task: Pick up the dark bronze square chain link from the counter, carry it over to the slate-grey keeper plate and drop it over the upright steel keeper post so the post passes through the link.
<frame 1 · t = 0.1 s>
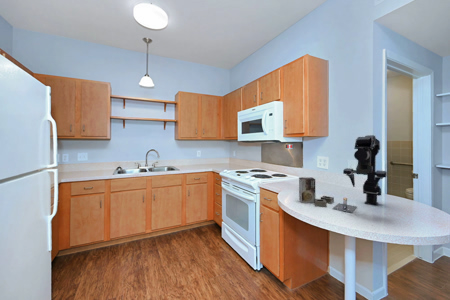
hand: (363, 188, 105), 15 cm above the table, fingers open, 9 cm apart
keeper: (345, 208, 116), on the table
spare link: (320, 205, 122), on the table
link: (327, 201, 129), on the table
coffee box: (306, 201, 130), on the table
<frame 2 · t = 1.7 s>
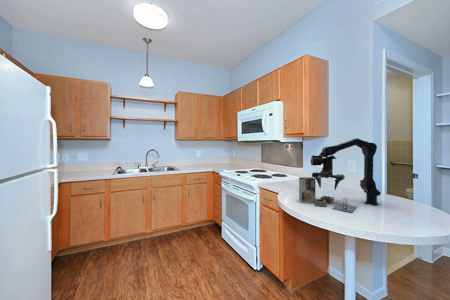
hand: (327, 188, 129), 9 cm above the table, fingers open, 9 cm apart
nothing on the table moved.
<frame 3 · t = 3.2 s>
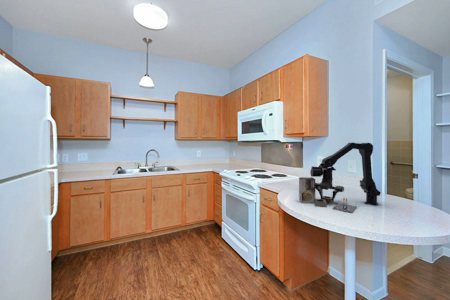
hand: (327, 199, 129), 1 cm above the table, fingers closed on link, 6 cm apart
link: (327, 201, 129), on the table, touching gripper
everything else where it was.
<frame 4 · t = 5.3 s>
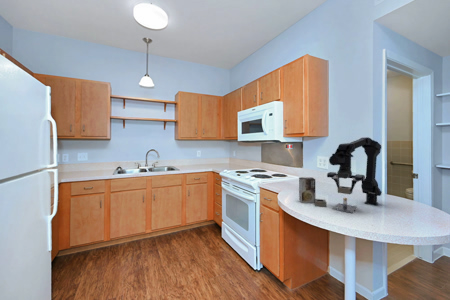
hand: (345, 190, 116), 11 cm above the table, fingers closed on link, 6 cm apart
link: (345, 192, 116), point 10 cm above the table, touching gripper
everything else where it was.
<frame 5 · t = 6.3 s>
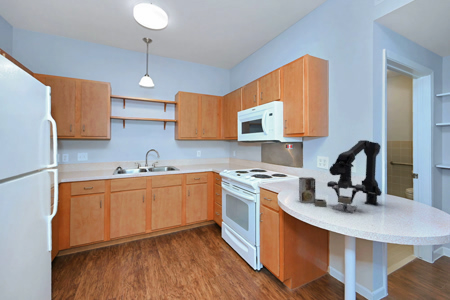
hand: (345, 200, 116), 5 cm above the table, fingers closed on link, 6 cm apart
link: (345, 202, 116), point 4 cm above the table, touching gripper
everything else where it was.
when the fingers open (4 cm above the table, at t = 7.3 s): link drops 3 cm, resting on keeper.
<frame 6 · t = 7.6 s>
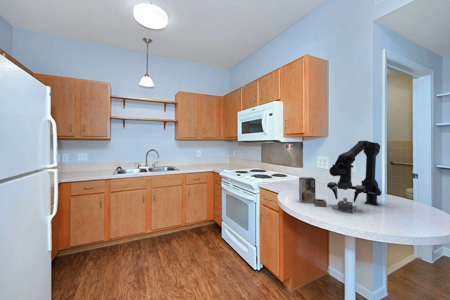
hand: (345, 200, 116), 4 cm above the table, fingers open, 9 cm apart
link: (345, 207, 116), point 1 cm above the table, touching keeper
everything else where it was.
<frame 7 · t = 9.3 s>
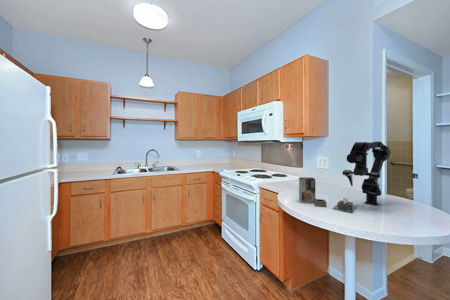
hand: (360, 187, 119), 12 cm above the table, fingers open, 9 cm apart
nothing on the table moved.
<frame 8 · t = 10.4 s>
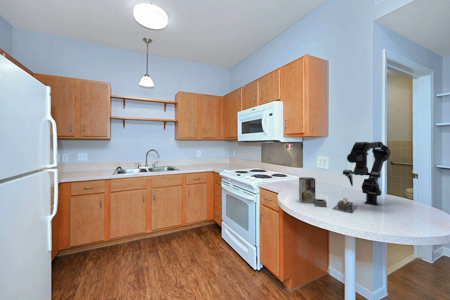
hand: (360, 187, 119), 12 cm above the table, fingers open, 9 cm apart
nothing on the table moved.
at the end: link 0.0 cm off-centre on the keeper, point 0.6 cm above the keeper's base; the gripper is holding nothing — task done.
